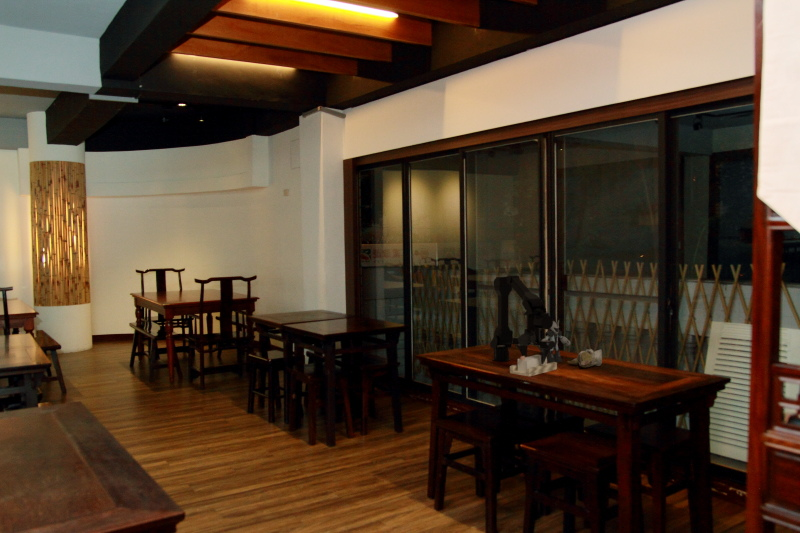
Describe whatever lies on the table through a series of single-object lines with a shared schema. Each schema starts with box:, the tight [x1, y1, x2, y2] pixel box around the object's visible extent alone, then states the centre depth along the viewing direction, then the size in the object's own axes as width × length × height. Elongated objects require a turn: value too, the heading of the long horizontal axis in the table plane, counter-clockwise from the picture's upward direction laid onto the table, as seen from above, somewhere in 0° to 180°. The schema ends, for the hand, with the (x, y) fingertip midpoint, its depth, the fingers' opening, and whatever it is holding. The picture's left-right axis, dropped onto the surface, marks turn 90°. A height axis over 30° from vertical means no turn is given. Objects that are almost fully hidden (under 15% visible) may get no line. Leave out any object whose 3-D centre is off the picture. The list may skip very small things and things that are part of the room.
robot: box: [537, 318, 572, 364], centre depth 294 cm, size 20×5×20 cm, turn 122°
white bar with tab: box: [517, 354, 548, 372], centre depth 275 cm, size 17×5×6 cm, turn 132°
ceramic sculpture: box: [567, 347, 603, 368], centre depth 283 cm, size 11×9×15 cm
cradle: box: [509, 362, 558, 377], centre depth 275 cm, size 20×10×3 cm, turn 132°
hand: (533, 362), depth 275 cm, fingers open, 9 cm apart
